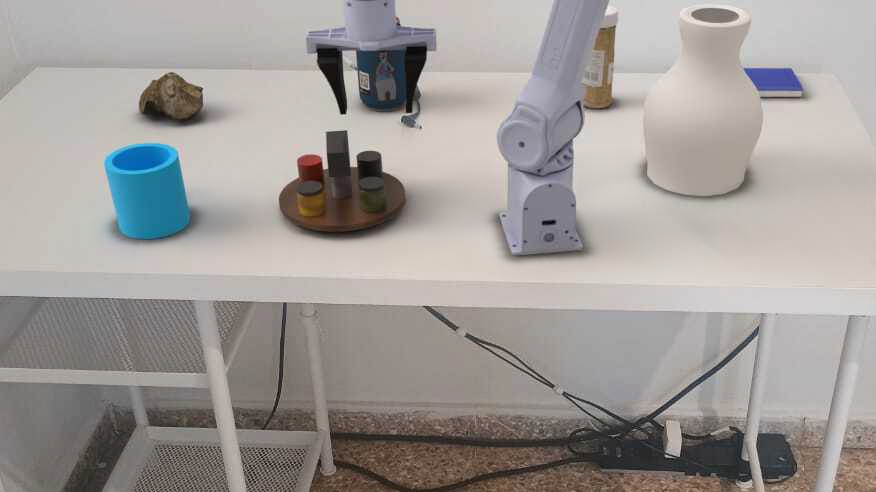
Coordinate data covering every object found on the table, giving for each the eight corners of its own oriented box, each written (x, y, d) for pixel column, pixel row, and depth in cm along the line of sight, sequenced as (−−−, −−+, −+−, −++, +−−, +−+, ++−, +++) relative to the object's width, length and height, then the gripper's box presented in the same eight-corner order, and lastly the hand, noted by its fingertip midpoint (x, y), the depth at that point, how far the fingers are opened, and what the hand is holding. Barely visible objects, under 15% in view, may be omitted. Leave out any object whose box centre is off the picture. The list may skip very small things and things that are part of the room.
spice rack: (401, 168, 130) (397, 111, 125) (410, 226, 118) (407, 165, 113) (280, 176, 129) (273, 119, 124) (277, 236, 117) (269, 174, 112)
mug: (185, 237, 119) (172, 172, 114) (113, 241, 118) (96, 176, 113) (199, 189, 128) (187, 127, 124) (132, 192, 128) (118, 130, 123)
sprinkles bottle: (618, 104, 148) (625, 9, 140) (593, 112, 146) (599, 16, 138) (597, 94, 151) (603, 1, 143) (573, 101, 149) (577, 7, 141)
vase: (625, 190, 126) (639, 27, 114) (650, 143, 137) (665, -11, 125) (744, 208, 122) (772, 40, 110) (760, 158, 133) (786, 0, 121)
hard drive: (715, 87, 148) (803, 87, 148) (707, 66, 155) (790, 66, 154) (714, 98, 149) (801, 98, 149) (705, 76, 156) (789, 76, 155)
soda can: (386, 90, 153) (381, 9, 146) (418, 103, 149) (414, 19, 142) (350, 103, 149) (343, 20, 142) (381, 117, 145) (376, 32, 138)
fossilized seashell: (220, 96, 146) (179, 91, 152) (189, 63, 141) (148, 59, 147) (190, 138, 144) (150, 131, 150) (158, 106, 139) (118, 100, 145)
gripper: (297, 5, 110) (311, 125, 118) (434, 2, 110) (438, 123, 118) (305, -15, 116) (317, 101, 124) (434, -17, 116) (438, 99, 124)
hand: (376, 110), depth 121 cm, fingers open, 7 cm apart
